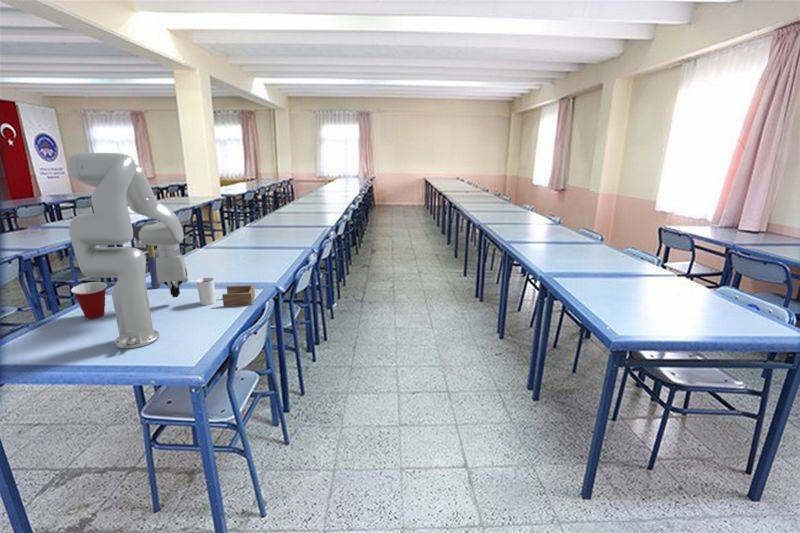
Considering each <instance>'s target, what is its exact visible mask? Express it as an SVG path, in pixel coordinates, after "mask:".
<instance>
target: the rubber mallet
mask: <svg viewBox="0 0 800 533" xmlns="http://www.w3.org/2000/svg"><path fill="white" fill-rule="evenodd" d="M156 223H157V221H153V220H152V221H148V222H144V223H140V224H139V225H136V226H134V228H133V237H134V239H136V240H137V241H138V242H139V241H140V239H139V232H140V230H141V228H142V227H144V226H146V225H153V224H156ZM140 242H141V241H140ZM146 246H147V248H146V249H147V256H148V257H147V266H148V269H149V274H150V286H151V287H152V288H153V289H158V288H160V287H161V285H162V284H161V283H159V281H158V279H157V270H156V259H157V256H156V254H155V253H154V251H155V245H146Z"/></svg>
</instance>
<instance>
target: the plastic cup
mask: <svg viewBox="0 0 800 533" xmlns="http://www.w3.org/2000/svg"><path fill="white" fill-rule="evenodd" d="M107 287H108V284H107V283H105V282H102V281H101V282H100V281H94V282H93V281H91V282H85V283H81V284H78V285H76V286H74V287H72V288H71V289H70V291H71V293H73V295H74V296H75V298H76V300H77V303H78V305H79V306H80V309H81V311H82V313H83V315H84V317H85V319H86V320H96V319H100V318H102V317H104V316H105V309H106V308H105V307H106V292H107V291H106V290H107Z"/></svg>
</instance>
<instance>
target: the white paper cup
mask: <svg viewBox="0 0 800 533" xmlns="http://www.w3.org/2000/svg"><path fill="white" fill-rule="evenodd" d="M196 286H197V292H198V297H199V302H200V305H201V306H211V305H214V304H215V303H216V302H217V301H216V287H215V278H213V277H202V278H198V279H197V280H196Z"/></svg>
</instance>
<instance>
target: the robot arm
mask: <svg viewBox="0 0 800 533" xmlns="http://www.w3.org/2000/svg"><path fill="white" fill-rule="evenodd" d="M66 169H67V171H68V173H69V175H70V176H71V178H73V180H76V181H77V182H79V183H82V184H83V185H87V186H91V187H93V188H95V189H94V190H93V192H92V194H91V198H90V200H91V206H92V211H93V213H81V214H78V215H76V216H74V217H73V218H72V219H71V221H70V223H69V227H68V233H69V238H70V242H71V245H72V248H73V251H74V254H75V258H76V260H77V264H78V266H79V269H80V271H81V273H82V274H83V275H84V276H85V277H87V278H92V279H98V278H99V279H105V278H106V279H107V278H109V279H110V278H112V279H113V278H116V279H117V281H116V282H115V284H114V286H113V288H112V289H111V297H112V302H113V307H114V313H115V314H114V315H115V318H116V319H115V320H116V324H117V325H116V326H117V329H118V335H119V336H118V337H116V338H115V340H114V345H115V347H117V348H120V349H135V348H141V347H145V346H148V345H150V344H152V343H154V342H156V341H158V339H159V338H160V336H161V335H160V332H159V331H158V330H156V329H154V326H153V321H152V319H153V318H152V314H151V307H150V300H149V294H148V289H147V280H146V279H147V278H146V277H147V276H146V270H147V258H146V255H145V253H144V252H143V251H142V250H141V249H139V248H136V247H131V246H120V245H126V244H128V243H130V242H131V241H133V239H134V238H133V237H134V236H133V229H134V228H133V224H132V220H131V216H130V212H129V209H130V210H131V211H132V212H134V213H137V214H138V215H141V216H144V217H147V218H150V219H153V220H155V221H156V222H157V221H158V222H157V223H156V224H153V225H146V226H144V227H142V228H141V230H140V232H139V239H140V242H141V243H142V244H144V245H146V246H147V245H154V246H156V247H157V249H154V253H155V255H157V256H156V270H157V279H158V281H159V283H161V285H166V286H167V287H168V289H169V291H170V292H169V293H170V296H172V298H178V296H179V295H180V294H181V292H180V286H181V284H184V283H187V282H189V278H188V269H187V265H186V262H185V258H184V256H183V254H182V253H181V248H180V244H181V243H183V240H184V236H185V235H184V230H183V227H182V224H181V222H180V220H179V219H180V218H178V215H176V213H175V212H174V211H173V210H171V209H170V208H169V207H168V206H167V205H165V204H163V203H161V202H160V201H158V199H157V198H156V196H155V194H154V191H153V189H152V187H151V184H150V182H149V180H148V177H147V175H146V173H145V170H144V169H143V167H141V165H138V164H136V162H135V160H134V158H133V157H132V156H130V155H129V154H124V153H117V152H75V153H72V154H71V155H70V156H69V157H68V158H67V161H66ZM117 245H118V246H117ZM100 246H103V247H100ZM105 246H107V247H105ZM108 246H109V247H108ZM110 246H111V247H110ZM115 246H116V247H115Z"/></svg>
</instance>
